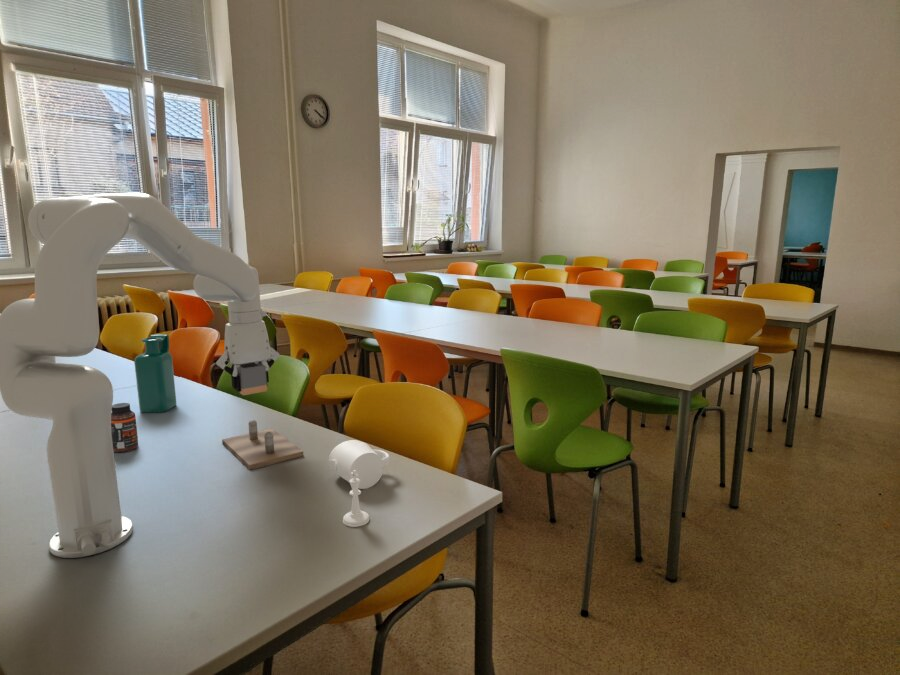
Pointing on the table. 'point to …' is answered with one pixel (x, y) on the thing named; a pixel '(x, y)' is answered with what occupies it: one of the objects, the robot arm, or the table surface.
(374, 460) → the mug
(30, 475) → the table surface
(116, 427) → the supplement bottle
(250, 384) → the sleeve
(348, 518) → the chess piece
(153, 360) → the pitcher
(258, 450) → the pin board
